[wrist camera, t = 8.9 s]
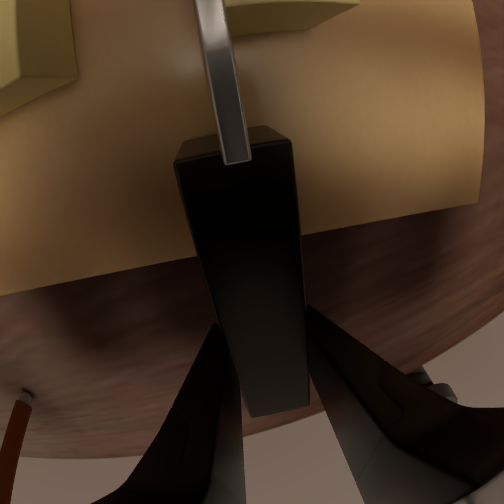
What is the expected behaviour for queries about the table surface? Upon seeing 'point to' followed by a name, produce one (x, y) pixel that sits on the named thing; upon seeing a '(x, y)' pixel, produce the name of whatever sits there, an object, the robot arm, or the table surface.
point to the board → (256, 114)
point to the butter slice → (281, 14)
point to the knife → (247, 232)
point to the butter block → (34, 50)
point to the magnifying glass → (13, 446)
